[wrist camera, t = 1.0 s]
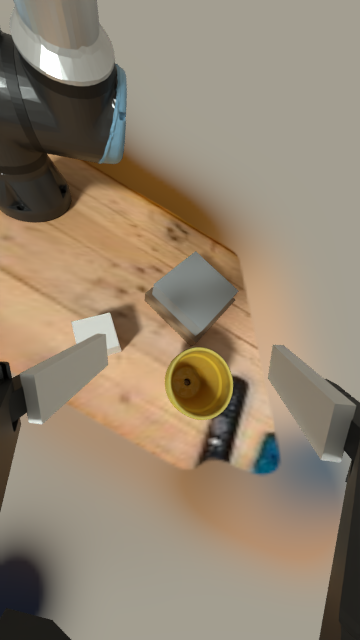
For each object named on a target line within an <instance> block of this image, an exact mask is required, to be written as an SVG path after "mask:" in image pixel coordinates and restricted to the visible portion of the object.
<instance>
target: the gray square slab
mask: <svg viewBox="0 0 360 640" xmlns="http://www.w3.org/2000/svg"><path fill="white" fill-rule="evenodd" d="M237 292H238V290H237V289H236V288H235V287H234V286H233V285H232V284H231V283H229V282H228V281H227V280H226V279H225V278H224V277H223V276H222V275H221V274H220V273H219V272H218V271H216V270H215V269H214V268H213V267H212V266H211V265H210V264H209V263H208V262H207V261H206V260H205V259H204V258H202V257H201V256H200V255H199V254H198V253H197V252H196V251H195V252H194V253H193V254H192V255H190V256H189V257H188V258H186V259H185V260H184V261H183V262H181V263H180V264H179V265H178V266H176V267H175V268H174V269H173V270H171V271H170V272H169V273H168V274H166V275H165V276H164V277H163V278H161V279H160V280H159V281H157V282H156V283H155V284H154V287H153V292H152V295H153V296H154V297H155V298H156V299H157V300H159V301H160V302H161V303H162V304H163V305H164V306H165V307H166V308H167V309H168V310H169V311H170V312H171V313H172V314H173V315H174V316H175V317H176V318H177V319H178V320H179V321H180V322H181V323H182V324H183V325H184V326H185V327H186V328H187V329H188V330H189V331H190V332H191V333H193V334H194V335H195V336H196V335H197V334H199V333H200V332H201V331H202V330H203V329H204V328H205V327H206V326H207V325H208V324H209V323H210V322H211V321H212V319H213V318H214V317H215V316H216V315H217V314H218V313H219V312H220V311H221V310H222V309H223V307H224V306H225V305H226V304H227V303H228V302H229V301H230V300H231V299H232V298H233V297H234V296H235V294H236V293H237Z"/></svg>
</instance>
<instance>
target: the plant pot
mask: <svg viewBox="0 0 360 640" xmlns="http://www.w3.org/2000/svg"><path fill="white" fill-rule="evenodd" d="M185 379H188V380H189V381H190V384H189V385H188V386H186V385H185V384H184V380H185ZM165 389H166V393H167V396H168V398H169V400H170V402H171V403H172V405H173V406H174V407H175V408H176V409H177V410H178V411H180V412H181V413H182V414H184V415H186V416H188V417H190V418H193V419H197V420H207V419H211V418H214V417H216V416H217V415H219V414H220V413H221V412H222V411H223V410H224V409H225V408H226V407H227V405H228V404H229V402H230V399H231V396H232V392H233V379H232V374H231V371H230V369H229V367H228V365H227V363H226V362H225V360H224V359H223V358H222V357H221V356H220V355H219V354H217V353H216V352H214V351H212V350H210V349H208V348H203V347H194V348H190V349H187V350H185V351H183V352H182V353H180V354H179V355H177V356H176V357H175V358H174V359H173V360H172V362H171V363H170V365H169V367H168V369H167V371H166V375H165Z"/></svg>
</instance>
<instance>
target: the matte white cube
mask: <svg viewBox="0 0 360 640" xmlns="http://www.w3.org/2000/svg"><path fill="white" fill-rule="evenodd" d="M72 326H73V331H74V335H75V340H76V344H78V343H80V342H82V341H84V340H86V339H87V338H89V337H91V336H93V335H95V334H97V333H98V334H106V343H107V356H109V355H112V354H115V353H118V352H121V347H120V344H119V340H118V337H117V333H116V330H115V326H114V323H113V320H112V317H111V314H110V313H106V314H102V315H98V316H93V317H89V318H85V319H81V320H77V321H73V322H72Z"/></svg>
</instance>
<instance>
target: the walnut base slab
mask: <svg viewBox="0 0 360 640" xmlns="http://www.w3.org/2000/svg"><path fill="white" fill-rule="evenodd" d="M152 292H153V288H151V289H150V290H149V291H148V292H146V293H145V301H146V302H147V303H148V304H149V305H150V306H151V307H152V308H153V309H154V310H155V311H156V312H157V313H158V314H159V315H160V316H161V317H162V318H163V319H164V320H165V321H166V322H167V323H168V324H169V325H170V326H171V327H172V328H173V329H174V330H175V331H176V332H177V333H178V334H179V335H180V336H181V337H182V338H183V339H184V340H185V341H186V342H187V343H188V344H189V345H190V346H192V345H193V344H195V343H196V342H197V341H198V340H199V339H200V338H201V337H202V336H203V335H204V334H205V332H206V331H207V330H208V329H209V328H210V327H211V326H212V325H213V324H214V323H215V322H216V321H217V319H218V318H219V317H220V316H221V315H222V314H223V313H224V312H225V311H226V310H227V309H228V308H229V306H230V305H231V304H232V303H233V302H234V301H235V299H234V298H232V299H231V300H230V301H229V302H228V303H227V304H226V305H225V306H224V307H223V309H222V310H221V311H220V312H219V313H218V314H217V315H216V316H215V317H214V318H213V319H212V321H211V322H210V323H209V324H208V325H207V326H206V327H205V328H204V329H203V330H202V331H201V332H200V333H199V334H197V335H196V336H195V335H194V334H193V333H191V332H190V331H189V330H188V329H187V328H186V327H185V326H184V325H183V324H182V323H181V322H180V321H179V320H178V319H177V318H176V317H175V316H174V315H173V314H172V313H171V312H170V311H169V310H168V309H167V308H166V307H165V306H164V305H163V304H162V303H161V302H160V301H159V300H157V299H156V298H155V297H154V296H153V295H152Z"/></svg>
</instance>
